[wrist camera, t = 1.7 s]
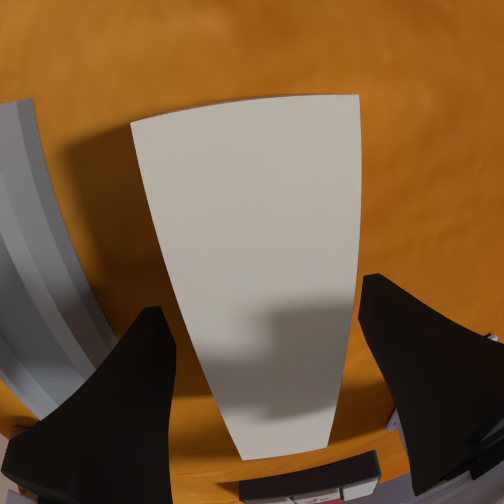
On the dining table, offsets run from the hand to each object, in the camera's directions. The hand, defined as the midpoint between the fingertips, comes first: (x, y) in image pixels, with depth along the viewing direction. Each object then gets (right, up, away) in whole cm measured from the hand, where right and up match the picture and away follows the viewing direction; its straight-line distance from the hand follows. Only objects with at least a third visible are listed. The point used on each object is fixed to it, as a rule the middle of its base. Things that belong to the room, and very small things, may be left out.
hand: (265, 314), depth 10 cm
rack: (-11, -1, +1) cm, 11 cm away
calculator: (+7, -25, +17) cm, 31 cm away
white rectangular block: (0, +1, +2) cm, 2 cm away
